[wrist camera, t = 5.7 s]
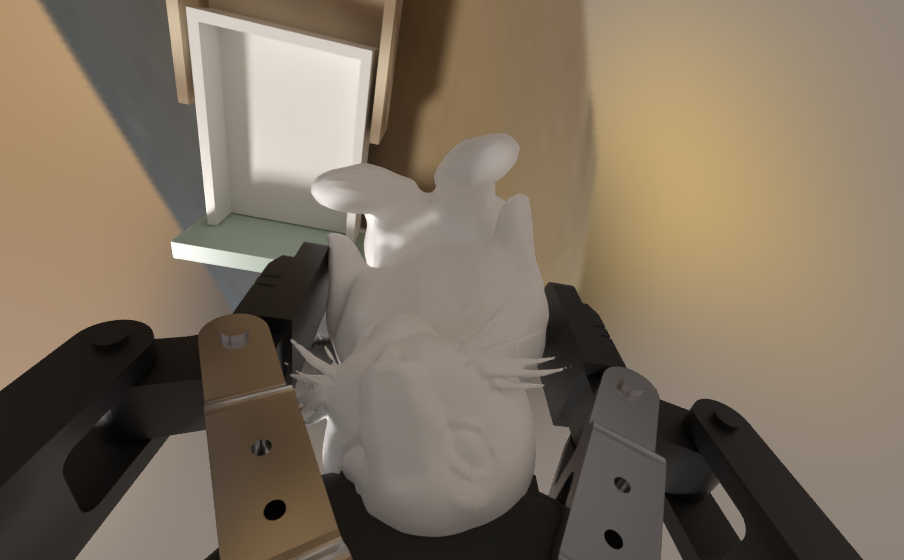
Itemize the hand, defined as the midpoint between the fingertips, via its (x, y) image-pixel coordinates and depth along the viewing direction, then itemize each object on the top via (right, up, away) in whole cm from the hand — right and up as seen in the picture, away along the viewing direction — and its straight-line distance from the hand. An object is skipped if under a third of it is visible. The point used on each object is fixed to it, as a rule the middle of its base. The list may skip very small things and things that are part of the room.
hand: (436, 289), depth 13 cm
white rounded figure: (0, +2, +4) cm, 5 cm away
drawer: (-11, +10, +17) cm, 22 cm away
